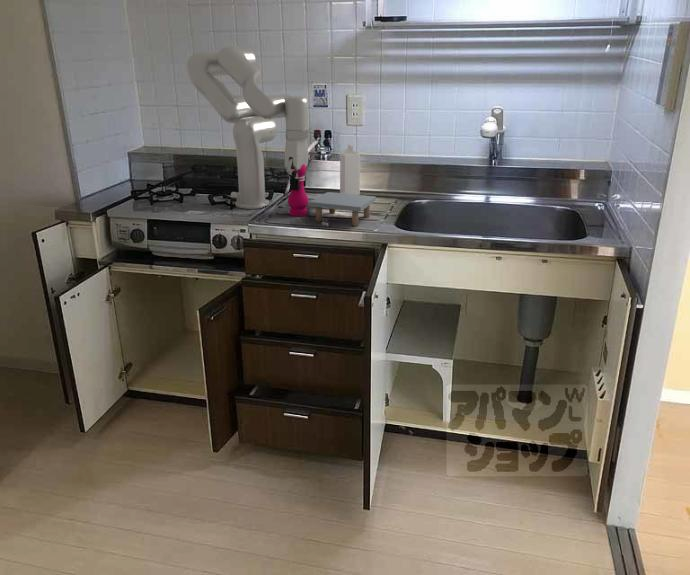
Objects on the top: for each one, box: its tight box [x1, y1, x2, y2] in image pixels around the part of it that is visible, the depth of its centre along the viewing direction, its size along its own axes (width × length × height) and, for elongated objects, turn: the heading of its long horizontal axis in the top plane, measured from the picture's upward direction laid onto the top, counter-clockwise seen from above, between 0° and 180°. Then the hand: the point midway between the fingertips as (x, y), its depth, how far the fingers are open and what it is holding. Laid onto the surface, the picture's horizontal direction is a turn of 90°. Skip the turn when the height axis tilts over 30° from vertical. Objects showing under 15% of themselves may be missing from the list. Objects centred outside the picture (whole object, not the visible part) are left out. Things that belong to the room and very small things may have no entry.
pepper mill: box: [287, 164, 309, 217], centre depth 209 cm, size 7×7×20 cm
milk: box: [339, 143, 361, 195], centre depth 222 cm, size 6×6×22 cm
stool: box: [309, 191, 377, 227], centre depth 206 cm, size 18×16×7 cm
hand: (297, 187), depth 209 cm, fingers closed on pepper mill, 5 cm apart
